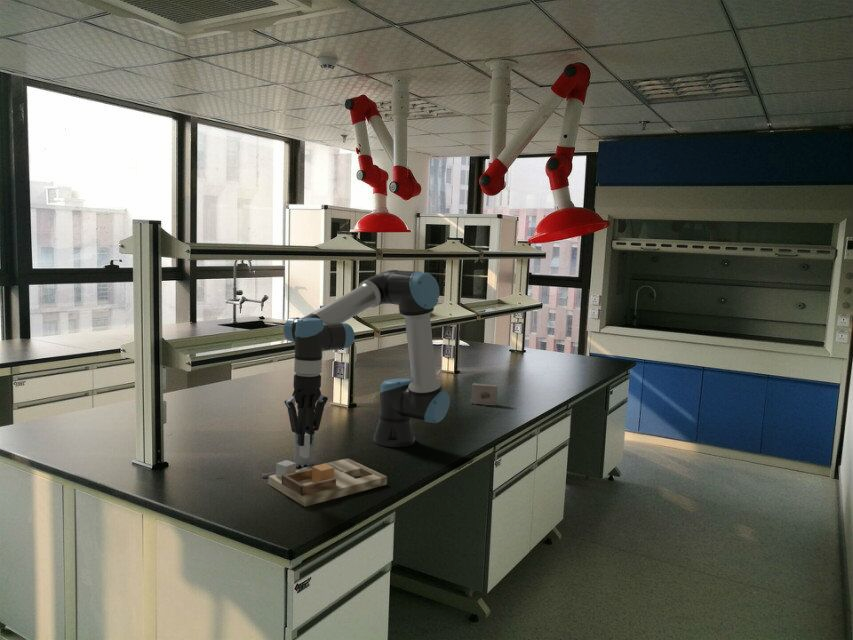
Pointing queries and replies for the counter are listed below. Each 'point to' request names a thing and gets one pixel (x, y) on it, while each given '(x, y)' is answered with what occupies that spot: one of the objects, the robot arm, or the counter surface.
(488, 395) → the pale printed box
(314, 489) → the cubby
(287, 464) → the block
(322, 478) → the cube
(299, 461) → the bottle
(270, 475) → the crook tool
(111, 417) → the counter surface
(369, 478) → the board
